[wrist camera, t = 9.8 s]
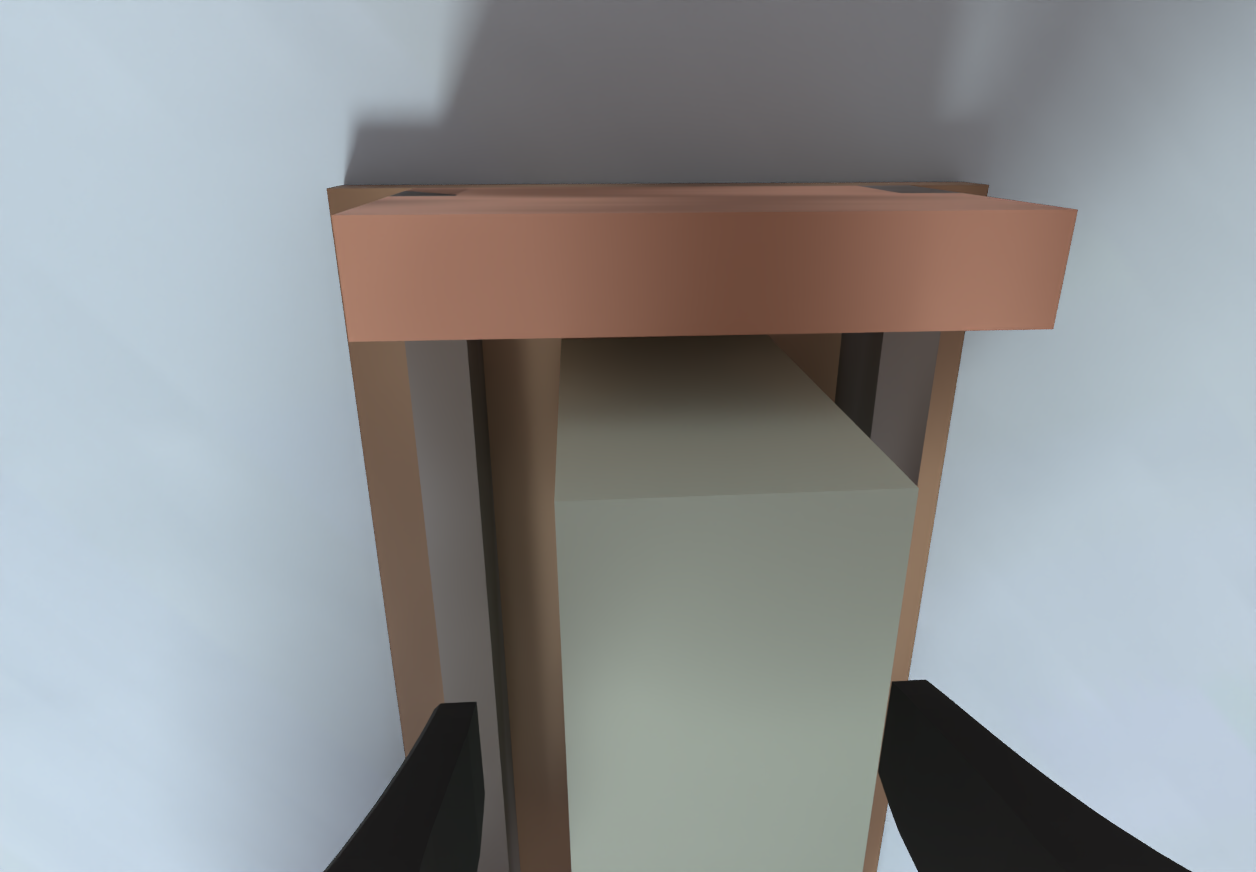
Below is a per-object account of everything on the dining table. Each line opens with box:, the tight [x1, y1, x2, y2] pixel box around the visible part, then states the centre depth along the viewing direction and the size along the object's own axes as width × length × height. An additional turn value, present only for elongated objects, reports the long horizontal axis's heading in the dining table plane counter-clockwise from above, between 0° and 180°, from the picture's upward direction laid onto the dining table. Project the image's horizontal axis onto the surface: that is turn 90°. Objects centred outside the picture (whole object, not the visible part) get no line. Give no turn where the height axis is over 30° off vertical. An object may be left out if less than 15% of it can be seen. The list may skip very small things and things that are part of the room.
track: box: [327, 182, 1078, 872], centre depth 16 cm, size 12×20×6 cm, turn 0°
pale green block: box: [554, 335, 919, 872], centre depth 14 cm, size 4×12×7 cm, turn 0°
